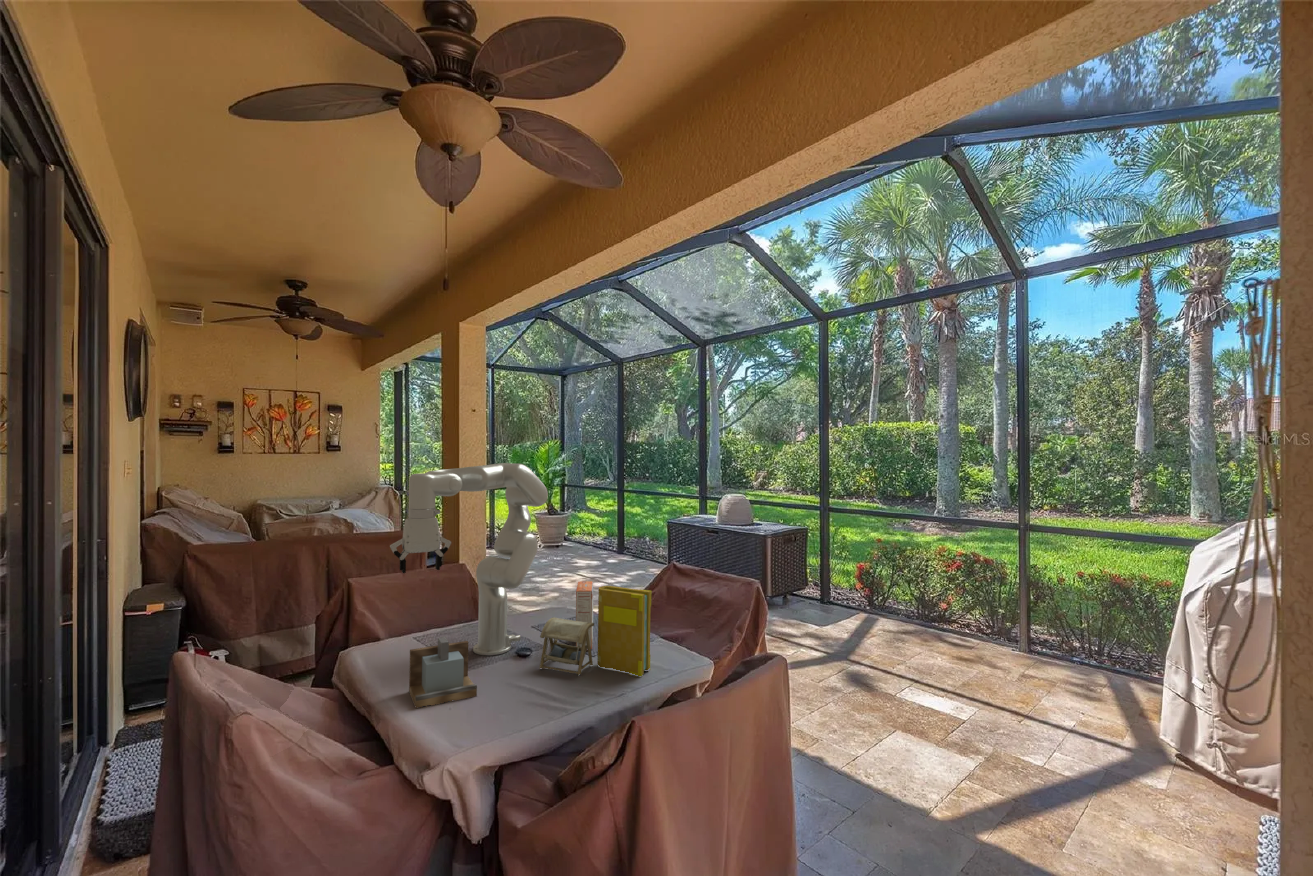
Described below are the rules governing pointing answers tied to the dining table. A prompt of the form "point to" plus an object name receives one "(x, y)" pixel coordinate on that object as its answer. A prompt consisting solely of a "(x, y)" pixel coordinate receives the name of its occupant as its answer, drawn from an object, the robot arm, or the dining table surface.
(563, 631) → the swing bench
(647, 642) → the book
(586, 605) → the cracker box
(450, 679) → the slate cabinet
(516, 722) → the dining table surface
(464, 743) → the dining table surface
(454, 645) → the cleat board
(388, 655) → the dining table surface
